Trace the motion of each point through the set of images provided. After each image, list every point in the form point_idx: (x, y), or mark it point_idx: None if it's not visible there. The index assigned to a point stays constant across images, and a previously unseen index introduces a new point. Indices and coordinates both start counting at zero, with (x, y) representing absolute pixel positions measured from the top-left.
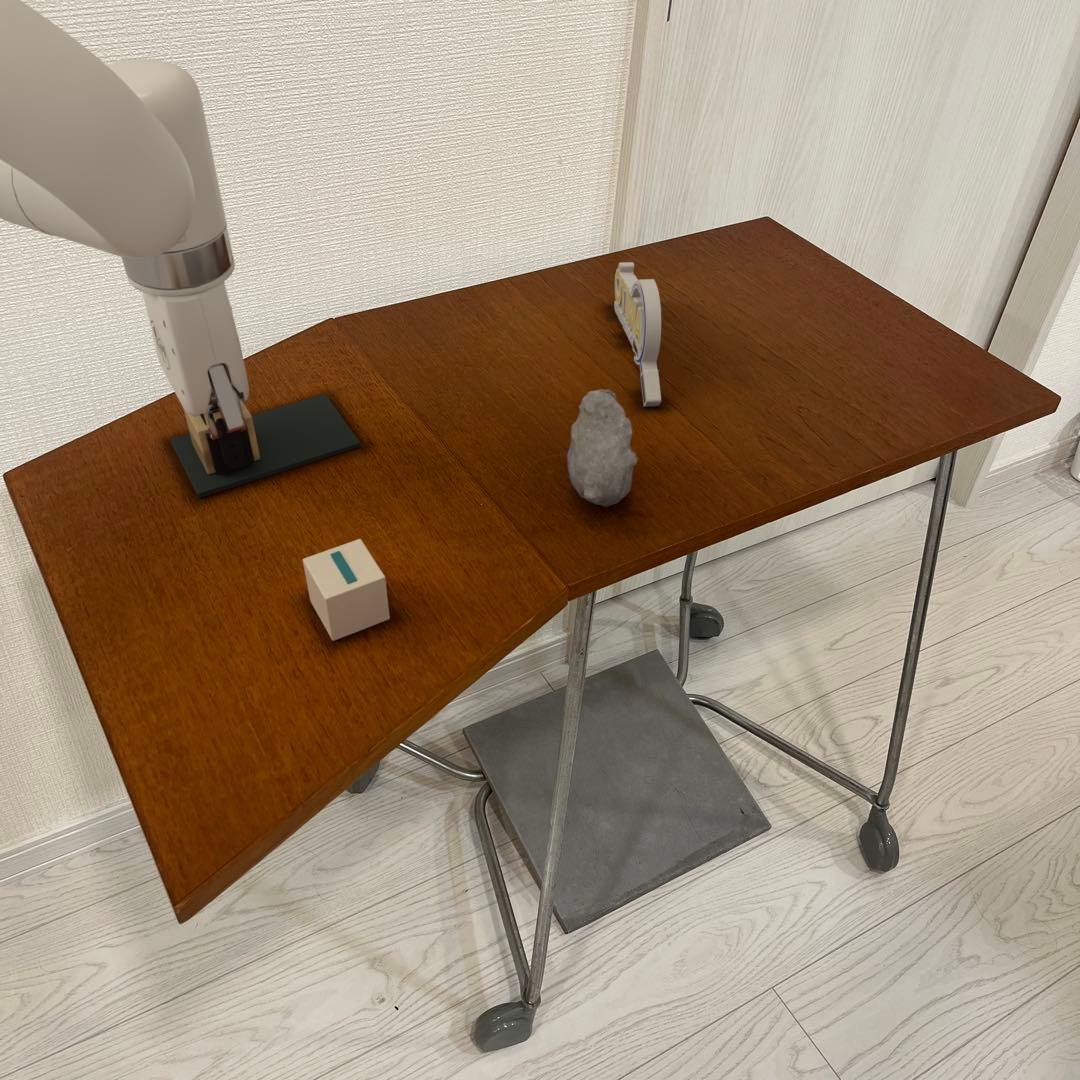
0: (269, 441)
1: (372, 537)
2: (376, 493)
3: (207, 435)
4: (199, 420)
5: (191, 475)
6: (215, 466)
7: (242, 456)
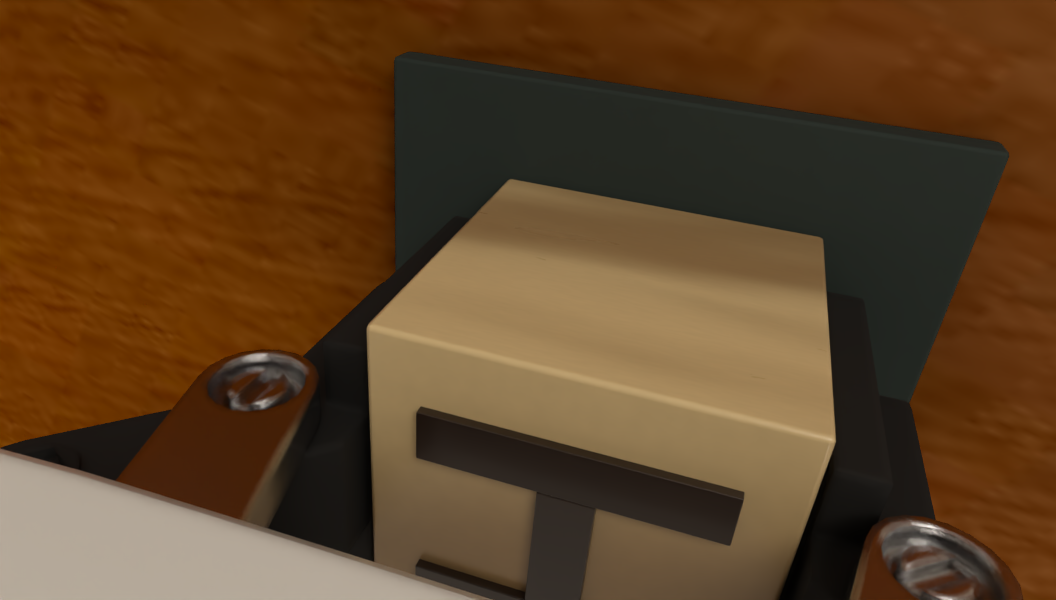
0: None
1: (5, 426)
2: None
3: (346, 353)
4: (501, 407)
5: (560, 99)
6: (436, 236)
7: None
